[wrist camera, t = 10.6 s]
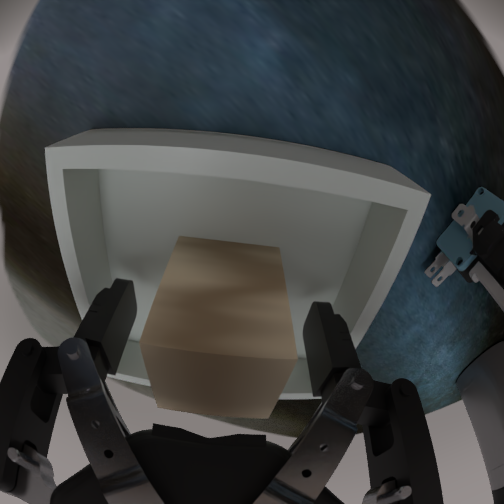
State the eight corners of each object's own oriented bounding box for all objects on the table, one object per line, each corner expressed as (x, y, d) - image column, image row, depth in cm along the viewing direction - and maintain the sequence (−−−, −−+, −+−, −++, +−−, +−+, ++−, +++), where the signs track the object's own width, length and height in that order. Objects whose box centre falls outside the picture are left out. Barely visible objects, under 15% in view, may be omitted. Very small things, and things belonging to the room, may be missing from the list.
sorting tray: (389, 165, 11) (431, 194, 8) (313, 356, 18) (321, 398, 15) (91, 129, 10) (44, 147, 7) (121, 336, 17) (106, 376, 14)
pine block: (279, 247, 12) (298, 359, 7) (262, 317, 15) (268, 418, 10) (179, 235, 12) (138, 342, 7) (180, 308, 14) (158, 407, 9)
